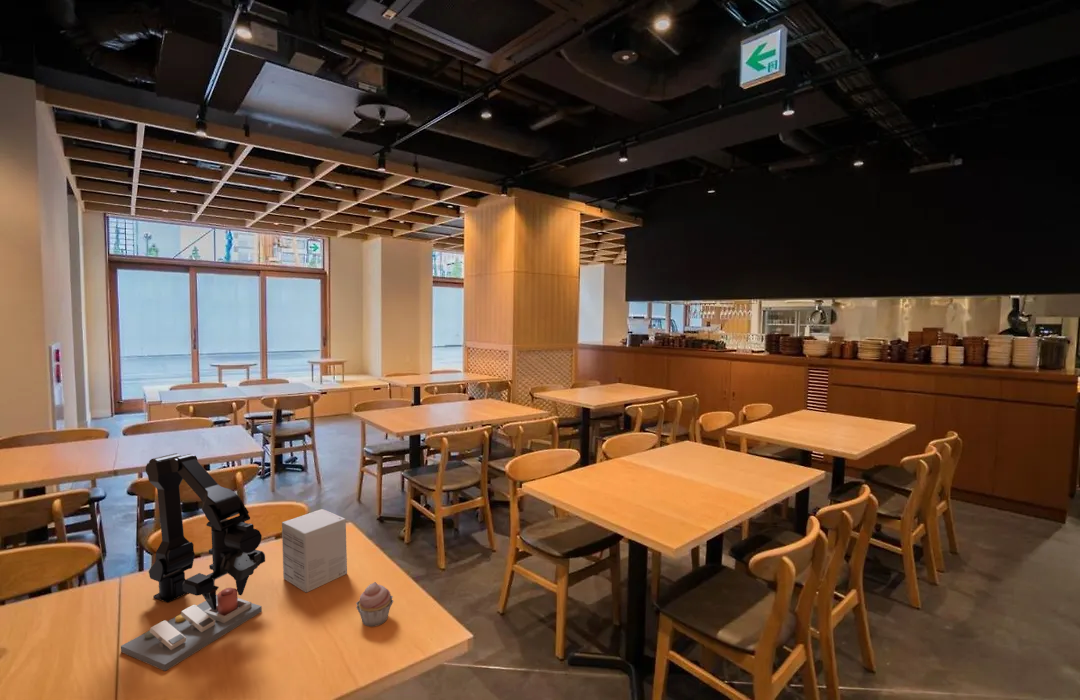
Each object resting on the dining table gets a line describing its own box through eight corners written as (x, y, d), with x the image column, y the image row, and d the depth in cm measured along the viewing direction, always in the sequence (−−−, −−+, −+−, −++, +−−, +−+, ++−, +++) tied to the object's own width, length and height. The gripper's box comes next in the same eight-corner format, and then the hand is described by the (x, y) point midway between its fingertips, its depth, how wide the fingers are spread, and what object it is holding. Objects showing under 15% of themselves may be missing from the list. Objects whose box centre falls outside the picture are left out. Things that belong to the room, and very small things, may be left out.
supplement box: (323, 561, 160) (322, 507, 159) (348, 573, 152) (346, 518, 151) (282, 578, 149) (280, 521, 148) (306, 593, 142) (304, 533, 140)
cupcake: (401, 614, 132) (401, 578, 131) (376, 634, 124) (375, 596, 123) (374, 605, 136) (373, 570, 135) (348, 624, 128) (347, 587, 127)
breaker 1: (148, 632, 117) (149, 627, 117) (165, 623, 121) (166, 618, 121) (169, 651, 115) (170, 646, 114) (186, 640, 118) (187, 636, 118)
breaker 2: (179, 615, 124) (180, 611, 124) (194, 607, 127) (195, 603, 127) (200, 633, 121) (201, 628, 121) (215, 624, 125) (216, 619, 124)
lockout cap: (214, 613, 129) (213, 593, 129) (230, 604, 133) (229, 584, 133) (225, 618, 128) (225, 596, 127) (241, 608, 132) (241, 588, 131)
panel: (121, 652, 117) (120, 641, 117) (220, 598, 139) (220, 588, 139) (165, 671, 111) (164, 659, 111) (261, 611, 133) (261, 601, 133)
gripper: (210, 567, 117) (213, 630, 119) (279, 534, 135) (280, 590, 136) (179, 558, 122) (182, 619, 123) (249, 527, 139) (251, 581, 140)
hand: (227, 602), depth 130 cm, fingers open, 7 cm apart
